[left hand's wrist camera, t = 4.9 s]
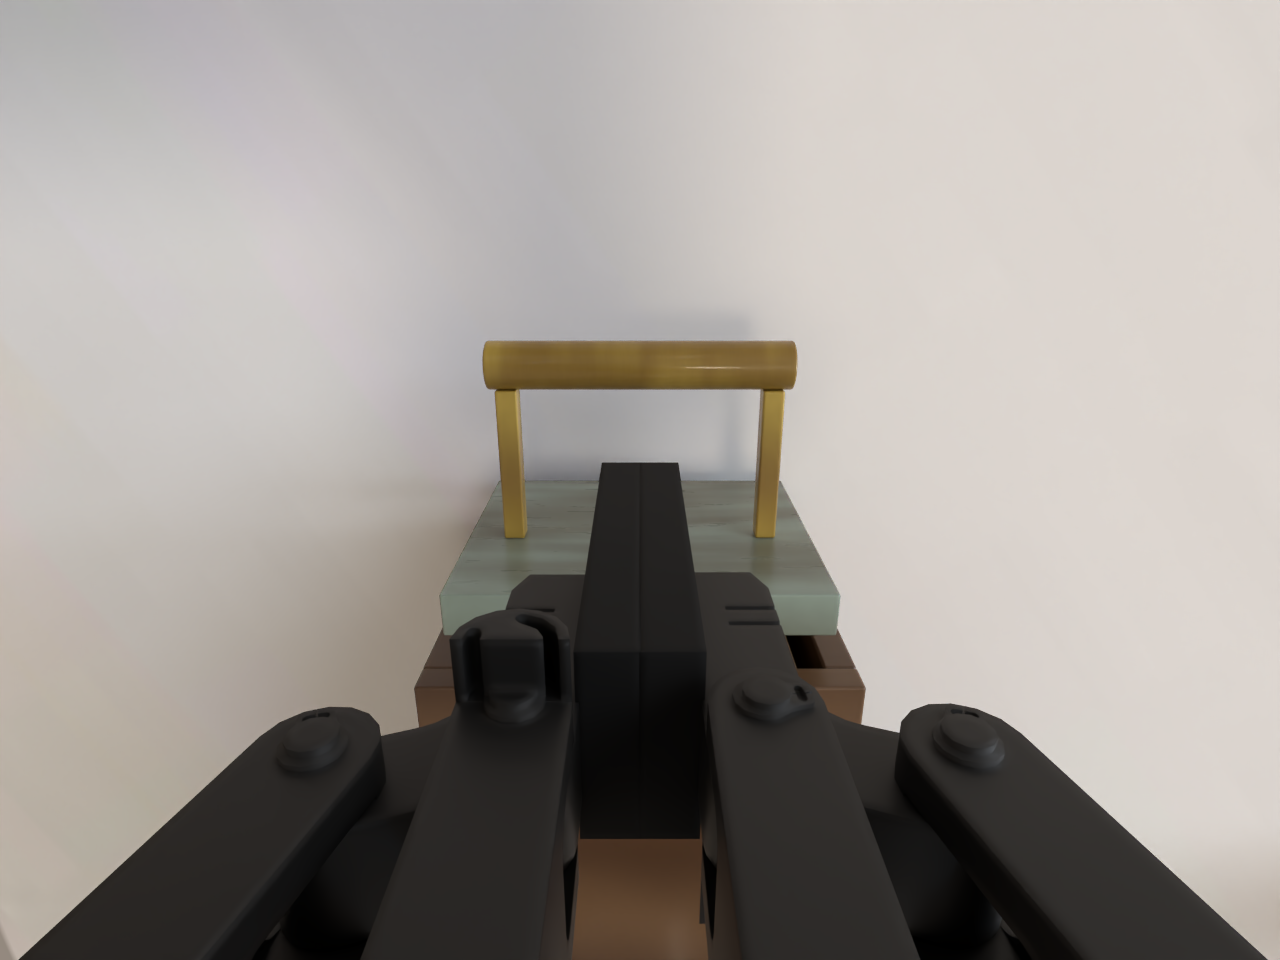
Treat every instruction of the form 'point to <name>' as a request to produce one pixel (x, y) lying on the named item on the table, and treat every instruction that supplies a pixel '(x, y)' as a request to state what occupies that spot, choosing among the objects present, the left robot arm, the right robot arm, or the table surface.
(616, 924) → the cabinet
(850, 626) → the table surface
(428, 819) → the left robot arm
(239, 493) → the table surface
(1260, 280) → the table surface
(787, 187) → the table surface
